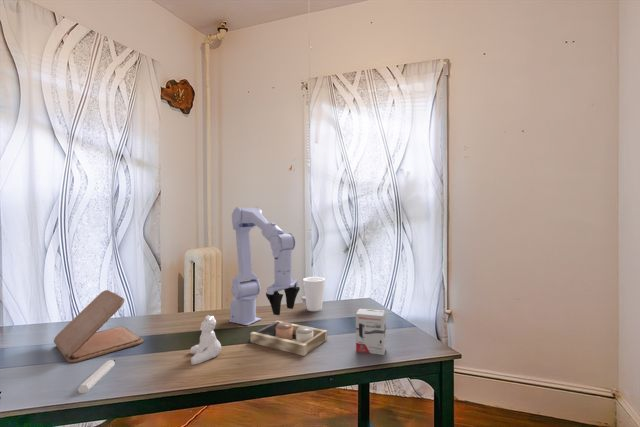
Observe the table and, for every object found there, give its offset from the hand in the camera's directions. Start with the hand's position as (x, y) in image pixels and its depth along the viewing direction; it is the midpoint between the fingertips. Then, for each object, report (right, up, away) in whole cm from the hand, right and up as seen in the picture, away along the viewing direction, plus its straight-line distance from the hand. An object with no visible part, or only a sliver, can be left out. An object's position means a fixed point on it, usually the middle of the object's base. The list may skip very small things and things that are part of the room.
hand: (283, 311), depth 109 cm
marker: (-45, -11, -23) cm, 52 cm away
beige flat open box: (+2, -9, -1) cm, 10 cm away
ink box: (+27, -9, -9) cm, 30 cm away
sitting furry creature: (-22, -10, -12) cm, 26 cm away
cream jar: (+7, -9, -4) cm, 12 cm away
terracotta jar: (0, -9, 0) cm, 9 cm away
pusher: (-7, -9, +4) cm, 12 cm away
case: (-59, -11, -3) cm, 60 cm away
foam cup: (+10, -9, +34) cm, 36 cm away
